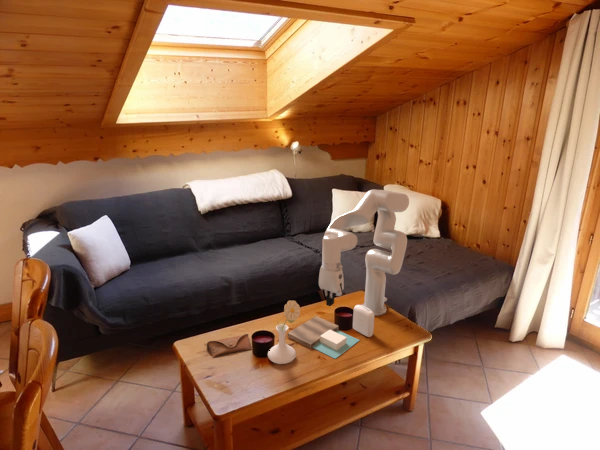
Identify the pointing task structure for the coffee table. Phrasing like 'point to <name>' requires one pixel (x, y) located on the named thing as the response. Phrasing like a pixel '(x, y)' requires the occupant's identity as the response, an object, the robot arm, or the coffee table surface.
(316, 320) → the riser
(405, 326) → the coffee table surface
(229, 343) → the sunglasses case
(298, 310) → the flower in vase
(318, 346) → the mat
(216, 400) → the coffee table surface
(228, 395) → the coffee table surface
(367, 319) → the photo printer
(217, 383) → the coffee table surface
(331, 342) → the white flat block
